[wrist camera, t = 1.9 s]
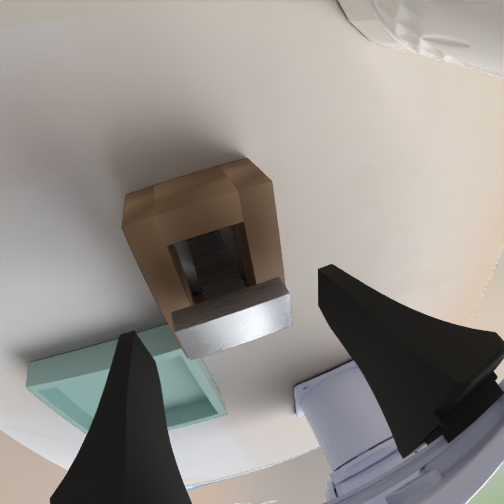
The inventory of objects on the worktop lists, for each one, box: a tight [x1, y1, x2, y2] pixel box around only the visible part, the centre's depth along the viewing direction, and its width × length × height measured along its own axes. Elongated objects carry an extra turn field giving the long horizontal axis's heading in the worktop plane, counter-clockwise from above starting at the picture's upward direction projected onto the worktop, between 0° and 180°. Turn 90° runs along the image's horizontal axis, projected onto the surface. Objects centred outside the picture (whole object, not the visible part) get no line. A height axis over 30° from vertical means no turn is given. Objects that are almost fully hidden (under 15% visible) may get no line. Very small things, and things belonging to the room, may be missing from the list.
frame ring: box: [122, 158, 285, 358], centre depth 14 cm, size 6×8×3 cm
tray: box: [26, 324, 227, 434], centre depth 18 cm, size 12×10×2 cm
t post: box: [171, 231, 293, 360], centre depth 13 cm, size 4×2×6 cm, turn 99°
